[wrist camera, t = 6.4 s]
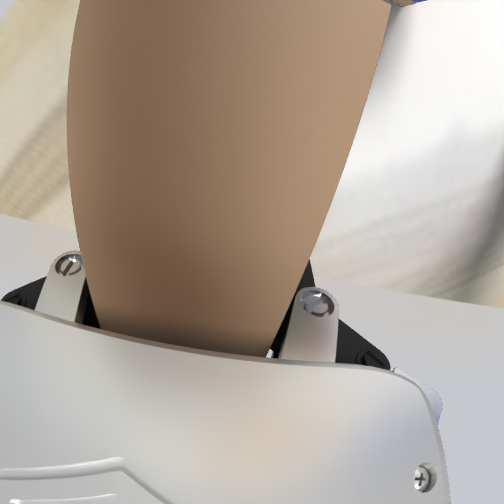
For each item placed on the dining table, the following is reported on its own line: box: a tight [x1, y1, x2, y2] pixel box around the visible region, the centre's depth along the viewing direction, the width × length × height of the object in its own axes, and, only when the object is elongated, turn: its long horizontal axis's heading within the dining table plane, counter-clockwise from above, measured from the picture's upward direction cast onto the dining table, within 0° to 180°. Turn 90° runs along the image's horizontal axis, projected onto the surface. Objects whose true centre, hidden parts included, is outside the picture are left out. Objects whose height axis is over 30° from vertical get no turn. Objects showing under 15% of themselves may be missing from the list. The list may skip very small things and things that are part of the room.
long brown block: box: [67, 0, 392, 357], centre depth 9 cm, size 4×16×7 cm, turn 168°
